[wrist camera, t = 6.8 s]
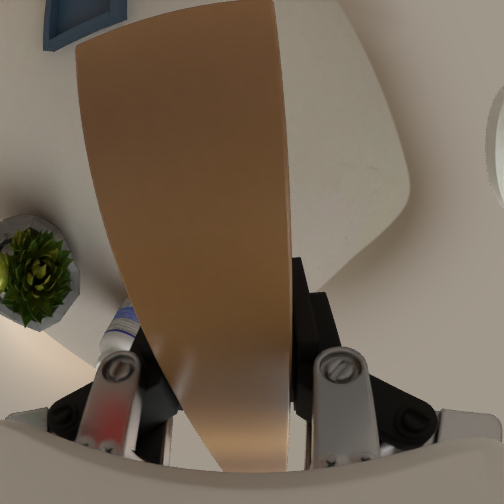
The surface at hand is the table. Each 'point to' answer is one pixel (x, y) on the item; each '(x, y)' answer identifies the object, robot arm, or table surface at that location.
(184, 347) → the long wooden plank
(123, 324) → the pill bottle
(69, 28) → the tray
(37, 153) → the table surface
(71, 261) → the potted plant
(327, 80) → the table surface
